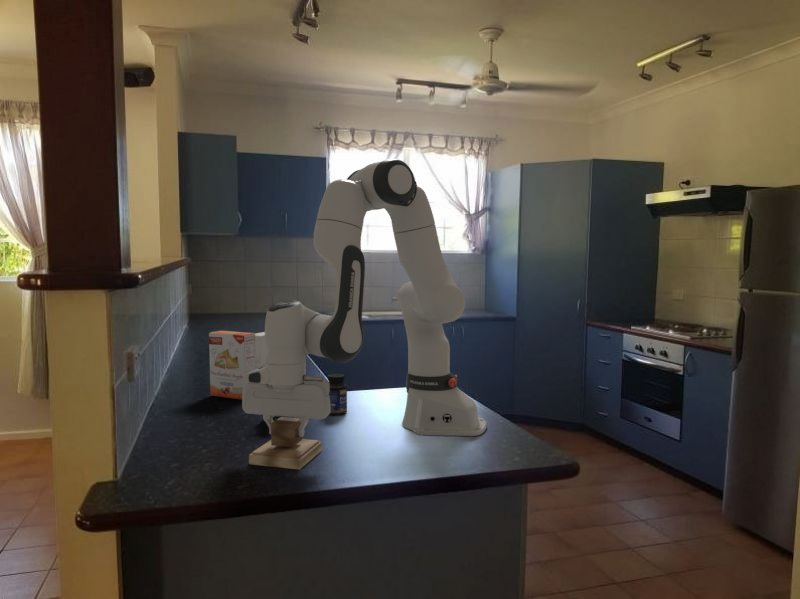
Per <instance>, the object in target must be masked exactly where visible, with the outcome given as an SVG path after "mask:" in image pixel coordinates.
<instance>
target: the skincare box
mask: <svg viewBox="0 0 800 599" xmlns="http://www.w3.org/2000/svg"><path fill="white" fill-rule="evenodd" d="M254 333H255V332H254ZM266 355H267V348H266V345H265V331H262V332H257V333H255V365H256V369H259V368H261V367H264V366H265V359H266Z"/></svg>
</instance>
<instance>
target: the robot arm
mask: <svg viewBox="0 0 800 599" xmlns="http://www.w3.org/2000/svg"><path fill="white" fill-rule="evenodd" d="M382 209H384V210H385V211H386V212H387V214H388V215H389V218H390V221H391V227H392V232H393V237H394V241H395V246H396V250H397V255H398V260H399V263H400V265H401V266H402V267H403V268H404V269H403V270H405V272H406V274H407V276H408V278H409V280H410V281H407V282H405V283H404V284H403V285H401V287H400V288H399V290H398V292H397V296H396V301H397V306H398V307H399V310H400V311H401V314H402V318H403V323H404V328H405V332H406V337H407V348H408V351H407V352H408V353H407V355H408V356H407V357H408V358H407V359H408V362H407V363H408V365H407V367H408V368H407V369H408V370H407V372H406V379H405V389H406V393H407V396H406V404H405V409H404V410H405V411H404V416H403V417H402V418H403V419H402V422H401V424H402V426H403V427H405V428H406V429H407V430H411V431H413V432H414V433H416V434H417V435H420V436H421V435H422V436H425V435H426V436H456V437H457V436H458V437H459V436H460V437H461V436H463V437H464V436H465V437H476V436H480V435H482V434H483V433H484V432H485V431H486V429H487V421H486V420H485V419H484V418H482V417H480V416H479V412H478V408H477V404H476V402H475V400H474V399H472V398H471V397H469V396H468V394H466V393H465V392H464V391H462V390H461V389H460V388H459V387H458V374H453V373H451V371H450V366H451V364H450V363H451V361H450V356H451V355H450V353H451V352H450V351H451V346H450V341H449V339H448V338H447V336H446V333H445V330H444V327H443V324H447V323H451V322H455V321H457V320H458V319H460V317H461V316H462V315H463V313H464V311H465V308H466V298H465V295H464V292H463V291H462V289H461V288H459V286H458V285H457V283H455V280H454V279H453V277H452V275H451V272H450V270H449V269H448V266H447V263H446V261H445V260H444V257H443V256H444V255H443V253H442V249H441V245H440V241H439V237H438V236H439V235H438V232H437V227H436V222H435V217H434V214H433V209H432V207H431V204H430V202H429V199H428V196H427V194H426V192H425V191H424V189H423V188H421V187H420V186H418V184H417V181H416V178H415V175H414V173H413V171H412V169H411V167H410V166H409V164H407V163H406V162H404V161H403V160H400V159H396V158H388V159H384V160H382V161H377V162H373V163H370V164H367V165H366V166H365V167H362V168H360V169H358V170H355V171H353V172H352V173H351V174H350V175H349V176H348V177H347V178H346V179H337V180H334V181H331V182H330V183H329V184H328V185H327V187H326V189H325V192H324V194H323V197H322V198H321V201H320V204H319V208H318V212H317V216H316V219H315V220H316V221H315V225H314V230H313V247H314V249H315V251H316V253H317V254H318V255H319V256H318V257H320V258H321V259H322V260H324V262H325V263H327V264H328V265H330V266H331V268H333V270H334V271H335V274H336V279H337V280H336V292H335V305H334V312H333V314H332V315H331V314H330V315H328V314H324V313H320V312H317V311H315V310H312V309H311V308H308V307H306V305H304V304H303V303H302V302H301V301H298V300H284V301H280V302H276V303H273V304H272V305H270V306H269V307H268V309H267V311H266V315H265V319H264V320H265V321H264V332H265V345H266V348H267V355H266V359H265V366H264V367H261V368H259V369H256V370H253V371H251V372H248V373H247V374H245V382H246V383H247V384H246V385H245V386H244V388H243V395H242V400H241V408H242V410H243V411H244V413H245V414H250V415H252V414H253V415H260V416H262V415H264V419H263V421H264V420H265V421H264V422H265V424H266V425H267V427H268V430H269V432H268V434H269V435H271V423H272V422H274V421H273V419H272V418H273V417H274V416H285V417H295V418H299V421H300V422H302V424H301V425H300V427H298V428H296V429H295V433H296V434H295V436H296V437H302V438H303V437H304V436H305V428H306V426H308V423H309V422H310V419H311V420H313V419H314V420H324V419H325V418H327V417H328V416H330V415H329V414H330V412H331V407H330V398H329V392H330V384H329V380H328V379H326V378H324V376H320V375H319V376H315V375H307V374H306V373H307V372H306V370H307V368H306V367H307V366H306V361H307V360H306V359H307V358H306V357H307V356H308V355H314V356H317V357H321V358H325V359H328V360H330V361H332V362H335V363H337V364H345V363H349V362H351V361H352V360H353V359H354V358H356V357H357V355H358V354H359V353H360V351H361V350H362V347H363V345H364V327H363V302H364V293H365V292H364V290H365V288H364V287H365V274H366V273H365V272H366V267H365V266H366V261H365V256H364V253H363V251H362V242H361V241H362V233H363V229H364V228H363V227H364V221H365V217H366V214H367V213H368V212H370V211H376V210H377V211H378V210H382Z"/></svg>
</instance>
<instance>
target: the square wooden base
mask: <svg viewBox="0 0 800 599" xmlns="http://www.w3.org/2000/svg"><path fill="white" fill-rule="evenodd" d="M322 451H323V442H322V441H320V440H318V439H307V438H302V440H301V441H300V442H298V443H297V444H296V445H295V446H293V447H284V446H274V445H271V439H270V440H268V441H267V442H265V443H264V444H263V445H261V446H259V447H258V448H256V449H255V450H253V451H252V452H251V453H249V455H248V464H249V465H252V466H253V465H254V466H264V467H273V468H281V469H282V468H283V469H291V470H301V469H303V468H304V467H305V466H306V465H307V464H308V463H310V461H311V460H313V459H314V458H315V457H316V456H318V454H320V453H321V452H322Z"/></svg>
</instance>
